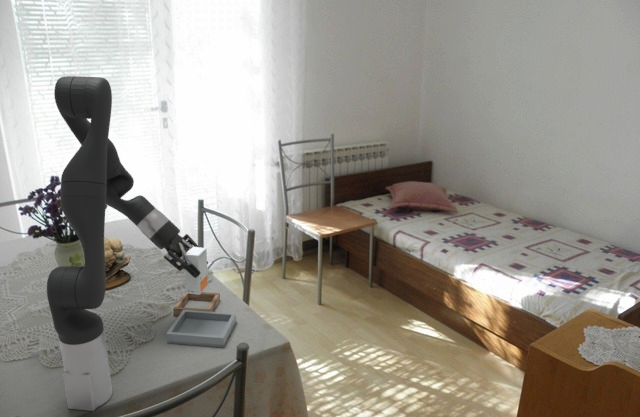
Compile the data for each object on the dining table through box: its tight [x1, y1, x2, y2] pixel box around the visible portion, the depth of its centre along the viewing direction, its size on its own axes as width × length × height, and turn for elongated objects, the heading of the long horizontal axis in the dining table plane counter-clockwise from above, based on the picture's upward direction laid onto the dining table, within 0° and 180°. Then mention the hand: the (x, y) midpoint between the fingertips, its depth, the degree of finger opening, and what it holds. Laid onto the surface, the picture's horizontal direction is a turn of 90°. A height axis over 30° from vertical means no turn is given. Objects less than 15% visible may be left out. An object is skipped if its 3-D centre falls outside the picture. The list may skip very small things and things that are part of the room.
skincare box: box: [184, 246, 209, 295], centre depth 147 cm, size 6×4×12 cm
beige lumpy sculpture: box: [83, 236, 132, 292], centre depth 174 cm, size 18×12×17 cm, turn 129°
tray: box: [166, 310, 237, 348], centre depth 148 cm, size 13×16×3 cm
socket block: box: [172, 291, 221, 317], centre depth 161 cm, size 11×11×2 cm
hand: (202, 270), depth 147 cm, fingers closed on skincare box, 6 cm apart
